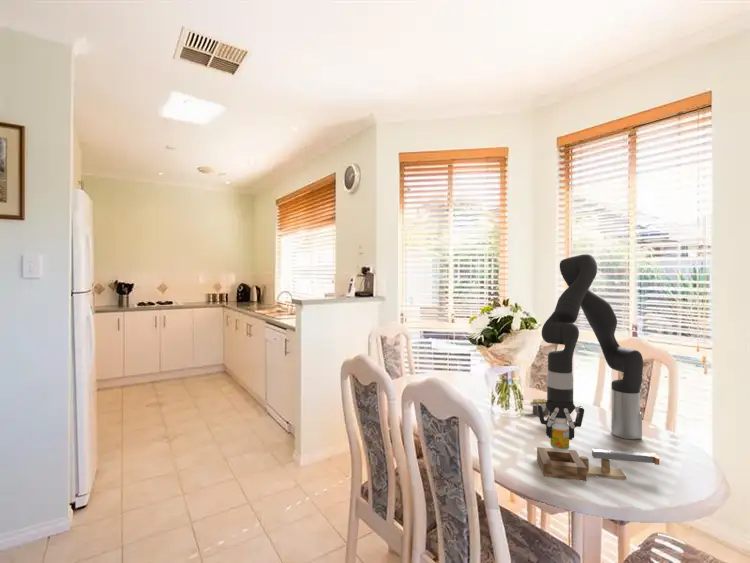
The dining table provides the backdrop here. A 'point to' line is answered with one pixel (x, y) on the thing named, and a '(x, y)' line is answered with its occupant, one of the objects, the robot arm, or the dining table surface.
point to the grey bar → (625, 456)
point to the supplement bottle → (560, 434)
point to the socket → (561, 464)
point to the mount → (602, 469)
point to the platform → (536, 406)
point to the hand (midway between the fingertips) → (559, 437)
